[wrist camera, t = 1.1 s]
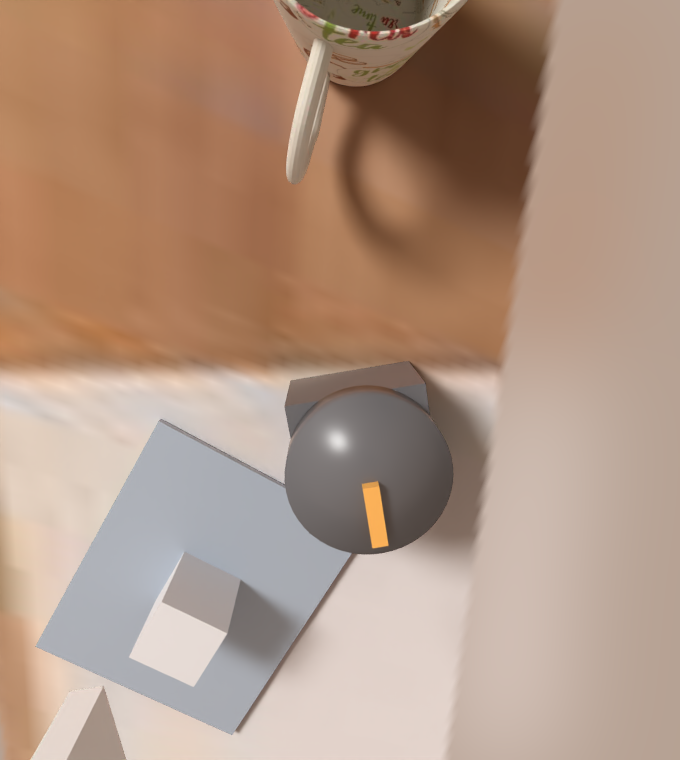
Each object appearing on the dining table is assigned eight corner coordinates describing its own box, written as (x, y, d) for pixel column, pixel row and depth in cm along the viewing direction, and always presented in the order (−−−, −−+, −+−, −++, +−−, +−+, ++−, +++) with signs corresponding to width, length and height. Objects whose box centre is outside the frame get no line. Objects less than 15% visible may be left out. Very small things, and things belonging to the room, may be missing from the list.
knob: (282, 374, 30) (268, 415, 22) (414, 352, 30) (445, 386, 22) (305, 497, 31) (300, 572, 24) (431, 476, 31) (464, 546, 24)
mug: (469, -49, 25) (561, -234, 16) (384, 223, 28) (416, 209, 18) (294, -116, 25) (276, -356, 15) (223, 170, 27) (168, 127, 17)
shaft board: (160, 419, 30) (129, 451, 25) (365, 527, 32) (373, 578, 27) (38, 641, 33) (-11, 710, 28) (233, 729, 35) (218, 807, 30)
